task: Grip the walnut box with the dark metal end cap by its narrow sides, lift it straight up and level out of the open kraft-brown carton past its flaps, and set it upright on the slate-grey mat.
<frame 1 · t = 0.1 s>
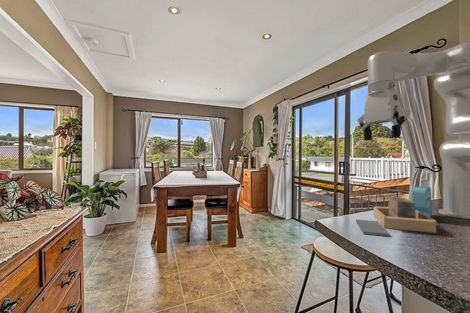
hand: (381, 139, 73), 31 cm above the countertop, tool pointing down, fingers open, 9 cm apart
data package: (422, 217, 85), on the countertop, touching carton
carton: (401, 223, 77), on the countertop
mat: (370, 228, 73), on the countertop
walnut box: (401, 224, 77), resting in carton
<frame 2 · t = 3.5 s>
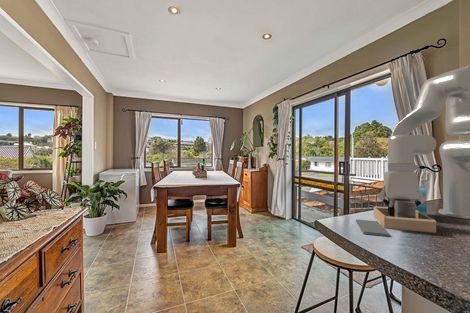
hand: (401, 217, 77), 2 cm above the countertop, tool pointing down, fingers closed on walnut box, 5 cm apart
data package: (419, 217, 86), on the countertop, touching carton
walnut box: (401, 224, 77), resting in carton, touching gripper
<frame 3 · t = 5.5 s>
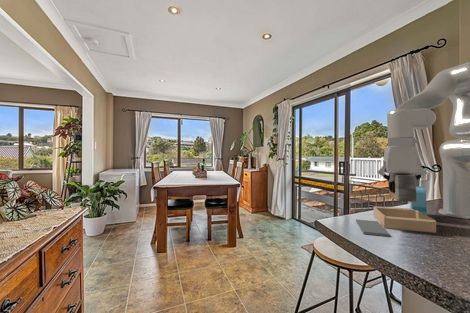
hand: (401, 191, 78), 12 cm above the countertop, tool pointing down, fingers closed on walnut box, 5 cm apart
walnut box: (402, 198, 78), point 9 cm above the countertop, touching gripper
everything else where it was.
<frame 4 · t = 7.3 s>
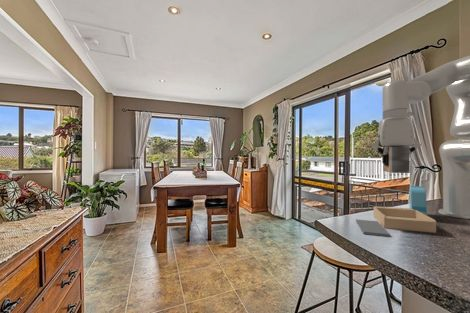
hand: (395, 165, 77), 22 cm above the countertop, tool pointing down, fingers closed on walnut box, 5 cm apart
walnut box: (395, 172, 77), point 19 cm above the countertop, touching gripper
everything else where it was.
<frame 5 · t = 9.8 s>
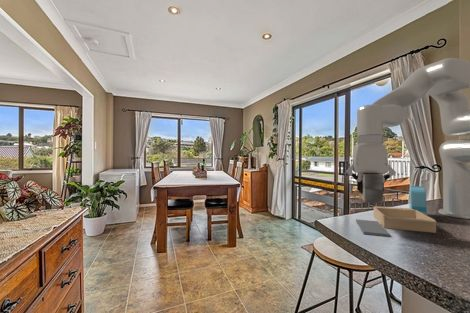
hand: (370, 192, 73), 12 cm above the countertop, tool pointing down, fingers closed on walnut box, 5 cm apart
walnut box: (370, 199, 73), point 10 cm above the countertop, touching gripper
everything else where it was.
when the fingers open (5 cm above the countertop, at t = 11.6 s): walnut box drops 1 cm, resting on mat.
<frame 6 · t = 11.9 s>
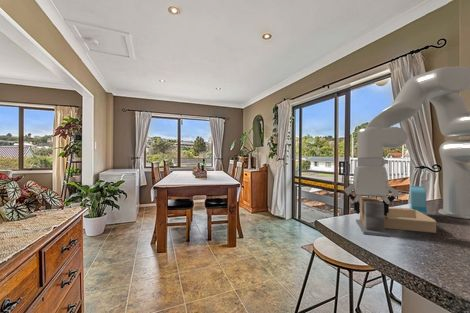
hand: (370, 213, 73), 5 cm above the countertop, tool pointing down, fingers open, 7 cm apart
walnut box: (371, 226, 73), point 1 cm above the countertop, touching mat
everything else where it was.
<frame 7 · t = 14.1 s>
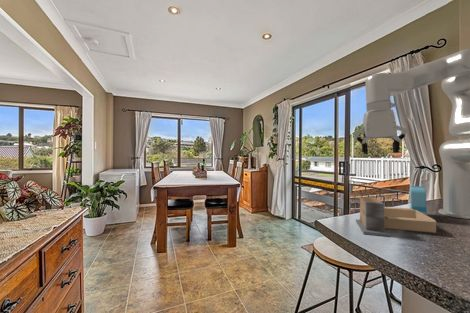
hand: (380, 153, 79), 26 cm above the countertop, tool pointing down, fingers open, 9 cm apart
nothing on the countertop moved.
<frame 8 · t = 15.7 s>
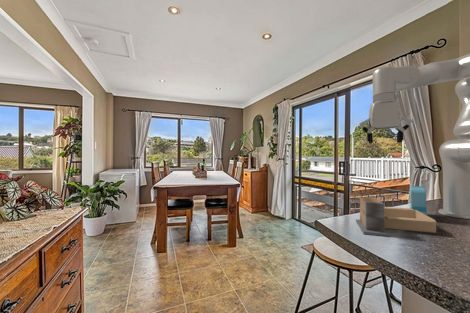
hand: (384, 142, 83), 30 cm above the countertop, tool pointing down, fingers open, 9 cm apart
nothing on the countertop moved.
at the end: walnut box inside the target area on the mat (0.1 cm from its centre), point 0.8 cm above the mat's base; walnut box tilted 0°; the gripper is holding nothing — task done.
